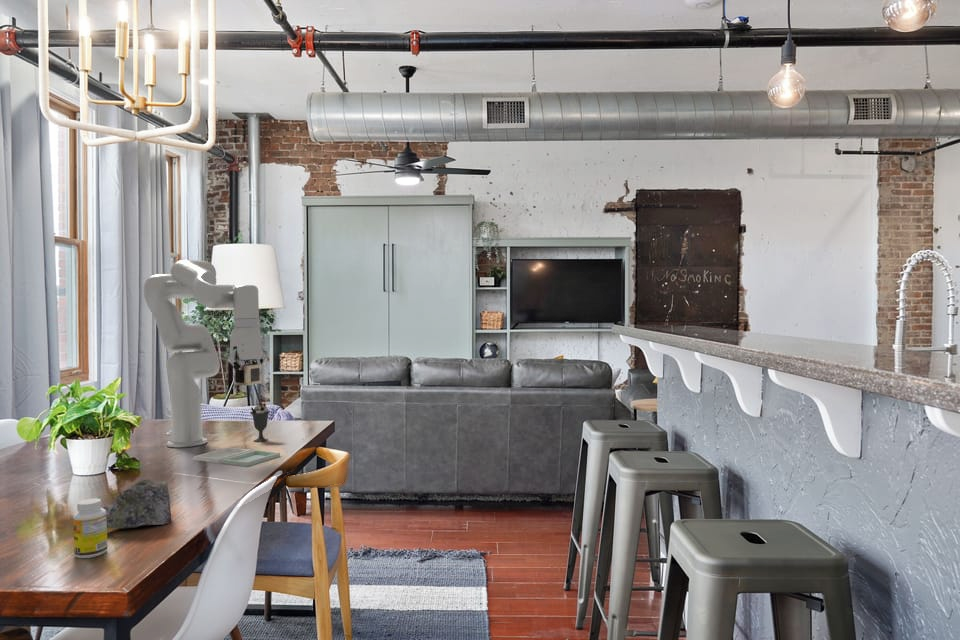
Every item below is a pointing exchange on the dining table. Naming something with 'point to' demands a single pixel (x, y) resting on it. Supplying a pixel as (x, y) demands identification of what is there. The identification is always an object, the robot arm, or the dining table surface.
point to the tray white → (220, 454)
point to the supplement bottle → (90, 529)
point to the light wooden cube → (251, 374)
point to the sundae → (260, 419)
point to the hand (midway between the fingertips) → (247, 380)
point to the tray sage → (250, 458)
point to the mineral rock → (140, 506)
